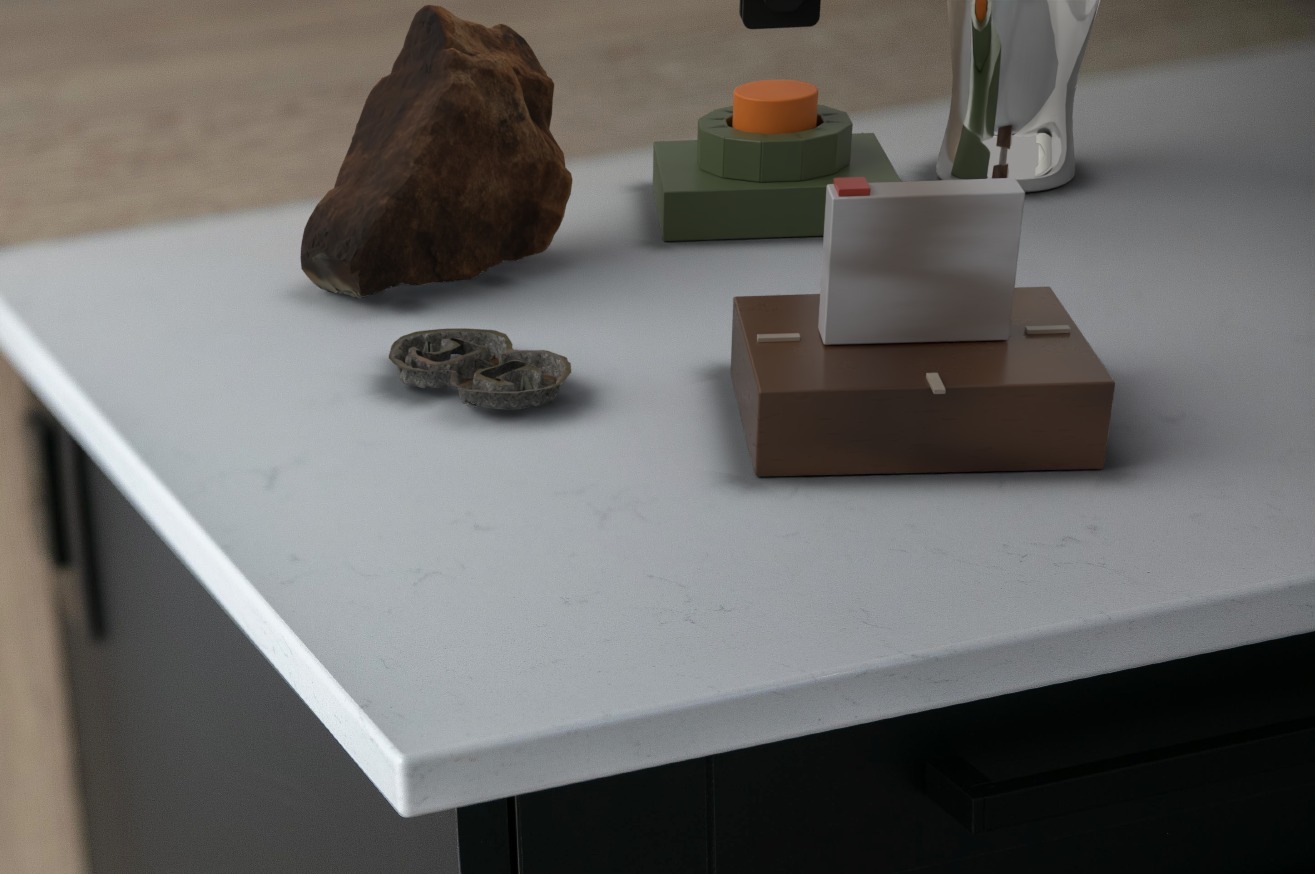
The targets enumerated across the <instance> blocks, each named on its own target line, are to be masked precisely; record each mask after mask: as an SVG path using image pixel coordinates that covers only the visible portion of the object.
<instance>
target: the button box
mask: <svg viewBox="0 0 1315 874" xmlns="http://www.w3.org/2000/svg"><path fill="white" fill-rule="evenodd" d="M732 126H733V105H730V106H725V107H720V108H717V109H716V108H715V109H713V110H712V111H710V112H708V113H706V114H705V115H703V116H701V117H699V118H698V119H697V134H696V135H697V138H696V139H687V140H686V139H685V140H684V139H683V140H659V141H658V140H656V141H653V144H652V145H653V147H652V149H653V150H652V153H653V154H652V190H653V195H654V196H653V197H654V201H655V206H656V210H657V216H658V222H659V227H660V231H661V237H662V238H661V239H662V241H663V242H682V241H683V242H685V241H712V240H715V241H716V240H740V239H741V240H742V239H768V238H796V237H797V238H798V237H824V222H825V206H826V189H827V185H828V184H834V178H847V177H865V178H866V180H867V182H868V183H882V182H902V180H901V178H900V176H899V175H898V173H897V171H896V169H895V168H894V165H893V164H892V162H891V160H890V159H889V156H888V155H887V153H886V152H885V150H884V148H883V147H882V145H881V142H880V141H879V140H878V137H877V136H876V135H875V133H874V132H859V133H857V132H856V133H853V126H854V123H853V121H852V119H851V118H850V115H849V114H848V113H847V112H846V111H844V110H840V109H837V108H833V107H831V106H827V105H824V104H818V106H817V123H816V128H814V129H810V130H805V131H800V132H795V133H779V134H761V133H751V132H743V131H740V130H737V129H734V128H732Z"/></svg>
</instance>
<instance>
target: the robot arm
mask: <svg viewBox="0 0 1315 874" xmlns="http://www.w3.org/2000/svg"><path fill="white" fill-rule="evenodd" d="M821 3H822V0H739V8H738V9H739V11H738V12H739V16H740V17H739V18H740V19H741V21H742V23H743V26H744V27H745V28H746V29H749V30H771V29H789V28H793V29H794V28H811V27H814V26H816V25H817V24H818V23H819V21H820V18H821Z"/></svg>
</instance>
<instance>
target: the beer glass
mask: <svg viewBox="0 0 1315 874" xmlns="http://www.w3.org/2000/svg"><path fill="white" fill-rule="evenodd" d="M1100 4H1101V0H946V10H947V21H948V31H949V32H948V33H949V43H950V44H949V45H950V58H951V76H952V78H951V79H952V80H951V99H950V106H949V113H948V117H947V118H948V119H947V123H946V127H945V131H944V134H943V138H942V141H941V145H940V149H939V151H938V152H939V153H938V156H937V161H936V165H935V173H936V175H937V177H938V178H939V179H940V180H968V179H997V178H1015V179H1016V180H1017V182H1018V183H1019V185H1020V186H1021V187H1022V189H1023V190H1024V192H1025V193H1034V192H1043V191H1047V190H1052V189H1055V188H1059V187H1061V186H1063V185H1066V184H1067V183H1069V182H1070V181H1071V180H1073V178H1074V176H1075V173H1076V157H1075V142H1074V106H1075V105H1074V103H1075V96H1076V89H1077V88H1078V79H1079V76H1080V75H1079V74H1080V71H1081V67H1082V65H1083V60H1084V57H1085V53H1086V50H1087V46H1088V43H1089V40H1090V36H1091V33H1092V30H1093V27H1094V24H1095V20H1096V17H1097V14H1098V10H1099V6H1100Z"/></svg>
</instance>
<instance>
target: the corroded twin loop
mask: <svg viewBox="0 0 1315 874" xmlns="http://www.w3.org/2000/svg"><path fill="white" fill-rule="evenodd" d="M452 355H459V356H457V357H454V358H451V356H452ZM388 360H390V361H391V362H392V363H393V364H394V365H395V366H396V367H397V373H398V377H399V379H400V381H401V382H402V384H404V385H406V386H407V385H408V386H414V387H418V388H420V389H446V388H447V389H448V388H450V389H451V388H452V389H454V388H455V389H457V390H458V395H459V399H460V401H461V404H462V405H465V406H467V407H470V408H475V409H476V408H487V409H493V410H522V409H528V408H538V407H540V406H544V405H546V404H551V403H553V402H554V401H555V398H556V396H557V395H558V394H559V392H560V388H561V386H562V384H564V382H565V381H566V380H567V379H568V378H569V376H570V374H572V363H571V362H570V361H569V360H568V358H567V357H566V356H564V355H561V354H558V353H556V352H553V351H549V350H545V349H538V350H537V349H514V348H513V342H512V340H511V339H510V338H509V336H508V334H507V333H504V332H501V331H498V330H496V329H484V328H483V329H482V328H465V327H463V328H462V327H461V328H458V327H457V328H437V329H436V328H435V329H427V330H426V329H425V330H418V331H414V332H410V333H408V334H405V335H404V334H403V335H402V336H400V337H399V338H397V339H396V340H394V342H393V343H392V344H391V346H390V350H389V354H388Z"/></svg>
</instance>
